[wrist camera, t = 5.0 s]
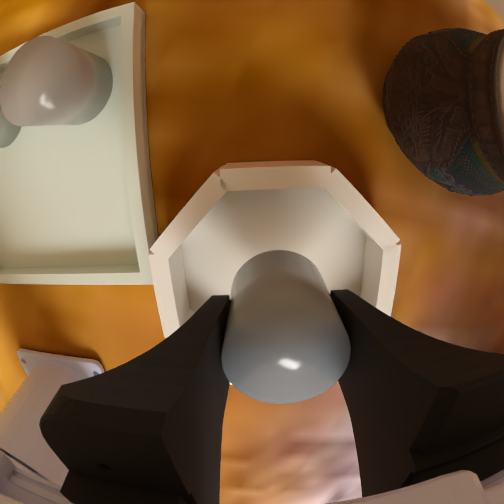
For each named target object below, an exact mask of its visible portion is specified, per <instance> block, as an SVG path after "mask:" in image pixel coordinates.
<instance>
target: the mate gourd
mask: <svg viewBox="0 0 504 504" xmlns="http://www.w3.org/2000/svg"><path fill="white" fill-rule="evenodd" d="M383 108H384V114H385V119H386V122H387V126H388V128H389V130H390V131H391V133H392V134H393V136H394V137H395V141H396V142H397V144H398V145H399V146H400V149H401V150H402V152H403V153H404V154H405V155H406V157H407V158H408V159H409V160H410V161H411V163H413V164H414V165H415V166H416V167H417V168H418V169H419V170H420V171H421V172H422V173H423V174H424V175H425V176H427V177H429V179H431V180H433V181H434V182H436V183H438V184H439V185H441V186H443V187H445V188H447V189H448V190H449V191H451V192H457V193H461V194H468V195H470V196H474V195H478V196H479V195H490V194H494V193H498V192H500V191H503V190H504V29H502V30H498V31H494V32H491V33H490V34H488V35H487V34H483V33H479V32H475V31H472V30H468V29H467V30H466V29H462V28H455V29H450V28H449V29H442V30H437V31H433V32H429V33H428V34H425V35H420V36H416V37H415V38H413V39H411V40H410V42H407V43H406V45H405V46H403V47H402V49H401V50H400V51H399V53H398V55H396V58H395V59H394V60H393V63H392V66H391V69H390V70H389V72H388V74H387V77H386V79H385V83H384V90H383Z"/></svg>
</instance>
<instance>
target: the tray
mask: <svg viewBox="0 0 504 504" xmlns="http://www.w3.org/2000/svg"><path fill="white" fill-rule="evenodd" d="M145 24H146V13H145V12H144V11H143V10H142V9H141V8H140V7H139V6H138V5H137V4H136V3H135V2H132V3H128V4H124V5H120V6H117V7H114V8H110V9H107V10H104V11H101V12H98V13H95V14H92V15H89V16H86V17H83V18H80V19H78V20H75V21H73V22H70V23H67V24H65V25H62V26H60V27H58V28H55V29H53V30H51V31H48V32H46V33H44V34H42V35H40V36H45V35H46V36H51V37H54V38H57V39H60V40H62V41H65V42H67V43H70V44H72V45H74V46H77V47H79V48H82V49H84V50H86V51H89V52H91V53H93V54H96V55H98V56H100V57H102V58H103V59H104V60H105V61H106V62H107V63H108V64H109V66H110V68H111V71H112V75H113V87H112V92H111V95H110V98H109V100H108V102H107V104H106V106H105V107H104V109H103V110H102V111H101V112H100V113H99V114H98V115H97V116H96V117H95V118H94V119H92V120H91V121H89V122H87V123H85V124H81V125H49V126H23V127H21V130H20V132H19V134H18V136H17V138H16V139H15V140H14V142H13V143H12V144H11V145H9V146H8V147H5V148H1V149H0V283H2V284H52V285H140V284H153V279H152V274H151V268H150V263H149V257H148V254H149V253H150V252H151V251H150V248H151V247H152V246H153V244H154V243H155V242H156V241H157V239H158V238H159V236H158V229H157V222H156V214H155V205H154V197H153V187H152V177H151V167H150V155H149V142H148V127H147V109H146V80H145ZM27 42H28V41H27ZM25 43H26V42H25ZM25 43H23V44H21V45H19V46H18V47H16V48H14V49H12V50H10V51H8V52H6V53H5V54H3V55H1V56H0V85H1V81H2V77H3V74H4V71H5V69H6V67H7V65H8V63H9V61H10V60H11V58H12V57H13V55H14V54H15V53H16V51H17V50H18V49H19V48H20V47H21V46H22V45H24V44H25Z"/></svg>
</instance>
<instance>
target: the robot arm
mask: <svg viewBox="0 0 504 504" xmlns="http://www.w3.org/2000/svg"><path fill="white" fill-rule="evenodd" d="M330 295H331V298H332V300H333V302H334V304H335V307H336V309H337V311H338V313H339V316H340V318H341V320H342V323H343V325H344V327H345V330H346V332H347V334H348V337H349V340H350V345H351V354H350V360H349V363H348V366H347V368H346V370H345V371H344V373H343V374H342V376H341V377H340V378H339V380H338V381H339V384H340V387H341V390H342V393H343V395H344V398H345V401H346V404H347V407H348V410H349V414H350V418H351V422H352V427H353V433H354V438H355V443H356V449H357V456H358V462H359V470H360V478H361V487H362V498H358V499H352V500H347V501H341V502H334V503H327V504H504V354H498V353H490V352H483V351H478V350H473V349H469V348H464V347H460V346H457V345H453V344H450V343H447V342H444V341H441V340H438V339H435V338H433V337H430V336H428V335H425V334H423V333H421V332H419V331H416V330H414V329H412V328H410V327H408V326H406V325H404V324H402V323H401V322H399V321H397V320H395V319H394V318H392V317H390V316H388V315H387V314H385V313H384V312H382V311H380V310H379V309H377V308H376V307H374V306H373V305H371V304H370V303H368V302H367V301H365V300H364V299H362V298H361V297H359V296H358V295H356V294H355V293H353V292H351V291H350V290H348V289H343V290H331V292H330ZM229 303H230V296H229V295H212V296H211V297H210V298H209V299H208V300H207V301H206V302H205V303H204V304H203V305H202V306H201V307H200V308H199V309H198V310H197V311H196V312H195V313H194V314H193V315H192V316H191V317H190V318H189V319H188V320H187V321H186V322H185V323H184V324H183V325H182V326H180V327H179V328H178V329H177V330H176V331H175V332H174V333H172V334H171V335H170V336H169V337H167V338H166V339H165V340H163V341H162V342H161V343H159V344H158V345H156V346H155V347H153V348H152V349H150V350H149V351H147V352H145V353H143V354H142V355H140V356H138V357H136V358H134V359H132V360H130V361H129V362H127V363H125V364H123V365H120V366H118V367H116V368H114V369H111V370H109V371H106V372H104V369H103V367H102V365H101V363H100V362H99V361H97V360H94V359H86V358H78V357H71V356H64V355H57V354H50V353H44V352H38V351H32V350H27V349H22V348H19V349H18V351H17V356H18V358H19V360H20V362H21V364H22V366H23V368H24V370H25V372H26V374H27V376H28V377H27V378H26V379H25V381H24V382H23V383H22V384H21V386H20V387H19V389H18V390H17V391H16V393H15V394H14V395H13V397H12V398H11V399H10V401H9V402H8V404H7V405H6V406H5V408H4V409H3V411H2V412H1V414H0V504H219V493H220V461H221V441H222V425H223V417H224V411H225V406H226V400H227V395H228V389H229V384H230V381H229V380H228V378H227V377H226V375H225V373H224V370H223V367H222V349H223V342H224V335H225V328H226V322H227V317H228V310H229ZM97 372H98V373H97Z"/></svg>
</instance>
